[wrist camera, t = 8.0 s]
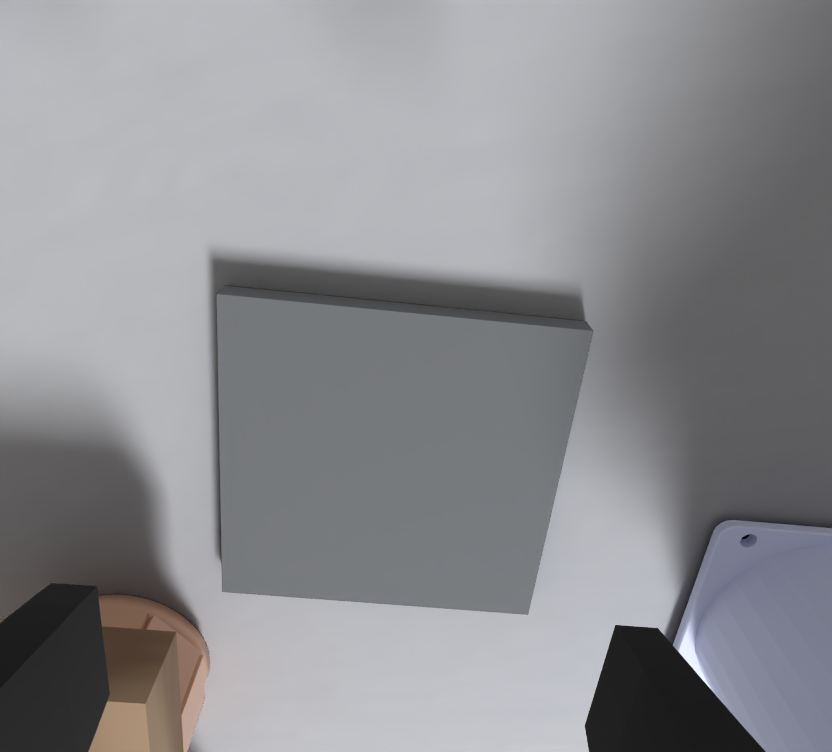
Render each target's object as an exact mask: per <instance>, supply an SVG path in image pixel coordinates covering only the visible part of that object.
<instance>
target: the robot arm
mask: <svg viewBox="0 0 832 752" xmlns="http://www.w3.org/2000/svg"><path fill="white" fill-rule="evenodd" d="M748 534H750V536H749V537H748V538H746V539H742V537H744V536H745V535H748ZM741 539H742V540H741ZM109 695H110V691H109V683H108V674H107V666H106V657H105V649H104V640H103V632H102V624H101V615H100V607H99V598H98V590H97V587H96V586H83V585H69V584H56V583H51V584H50V585H48V586H47V587H46V588H45V589H43V590H42V591H41V592H39V593H38V594H37V595H35V596H34V597H33V598H32V599H30V600H29V601H28V602H26V603H25V604H24V605H22V606H21V607H20V608H19V609H17V610H16V611H15V612H14V613H12V614H11V615H10V616H8V617H7V618H6V619H5V620H3V621H2V622H1V623H0V752H88V751H89V749H90V746H91V744H92V741H93V739H94V736H95V733H96V731H97V728H98V725H99V722H100V720H101V717H102V714H103V712H104V709H105V706H106V703H107V701H108V698H109ZM585 729H586V735H587V741H588V747H589V752H832V528H823V527H811V526H799V525H787V524H775V523H763V522H751V521H739V520H727V521H724V522H722V523H720V524H719V525H718V526H716V528H715V530H714V531H713V534H712V537H711V539H710V542H709V545H708V548H707V551H706V553H705V556H704V559H703V562H702V565H701V567H700V570H699V573H698V576H697V579H696V581H695V584H694V587H693V590H692V593H691V595H690V598H689V601H688V604H687V607H686V609H685V612H684V615H683V618H682V621H681V623H680V626H679V629H678V632H677V635H676V637H675V640H674V643H673V645H672V644H671V643H670V642H669V640H668V639H667V638H666V637H665V636H664V635H663V634H662V633H661V631H660V630H659V629H658V628H647V627H634V626H621V625H615V628H614V632H613V635H612V638H611V642H610V645H609V648H608V651H607V655H606V658H605V661H604V665H603V668H602V671H601V674H600V678H599V681H598V684H597V688H596V691H595V694H594V698H593V701H592V704H591V707H590V711H589V714H588V717H587V721H586V724H585Z"/></svg>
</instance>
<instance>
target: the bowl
mask: <svg viewBox="0 0 832 752" xmlns="http://www.w3.org/2000/svg"><path fill="white" fill-rule="evenodd" d="M98 598H99V607H100V615H101V624H102V626H103V627H118V628H132V629H146V630H161V631H175V632H176V633H177V650H178V666H179V683H180V700H181V716H182V733H183V750H184V752H188V749H189V746H190V743H191V740H192V737H193V734H194V731H195V728H196V725H197V722H198V719H199V716H200V713H201V710H202V707H203V704H204V701H205V682H206V679H207V676H208V673H209V669H210V657H209V652H208V648H207V645H206V643H205V641H204V639H203V637H202V636H201V634H200V633H199V631H198V630H197V629H196V628H195V627H194V626H193V625H192V624H191V623H190V622H189V621H188V620H187V619H186V618H185V617H183V616H182V615H180V614H179V613H178V612H176V611H174V610H173V609H171V608H169V607H167V606H165V605H163V604H160V603H158V602H156V601H152V600H149V599H146V598H142V597H137V596H131V595H115V594H113V595H102V596H98Z"/></svg>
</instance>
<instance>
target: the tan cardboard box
mask: <svg viewBox="0 0 832 752" xmlns="http://www.w3.org/2000/svg"><path fill="white" fill-rule="evenodd" d="M2 621H3V619H0V623H1V622H2ZM102 632H103V640H104V649H105V657H106V666H107V674H108V683H109V691H110V695H109V698H108V701H107V703H106V706H105V709H104V712H103V714H102V717H101V720H100V722H99V725H98V728H97V731H96V733H95V736H94V739H93V741H92V744H91V746H90V749H89V751H88V752H184V750H183V733H182V716H181V700H180V683H179V666H178V650H177V633H176V632H175V631H161V630H146V629H132V628H118V627H103V626H102Z"/></svg>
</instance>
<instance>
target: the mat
mask: <svg viewBox="0 0 832 752" xmlns="http://www.w3.org/2000/svg"><path fill="white" fill-rule="evenodd" d="M592 334H593V330H592V329H591V327H590V326H589V325H588V323H587V322H586V321H580V320H570V319H559V318H549V317H539V316H529V315H519V314H509V313H499V312H488V311H478V310H468V309H458V308H448V307H438V306H428V305H418V304H407V303H397V302H387V301H377V300H367V299H357V298H347V297H337V296H326V295H316V294H306V293H296V292H286V291H276V290H266V289H256V288H245V287H235V286H225V285H224V287H223V288H222V289H221V290H220V291H219V292H218V293H217V345H218V398H219V450H220V503H221V555H222V592H231V593H245V594H258V595H271V596H285V597H298V598H311V599H325V600H338V601H352V602H365V603H378V604H392V605H405V606H419V607H432V608H445V609H459V610H472V611H486V612H499V613H512V614H526V615H528V612H529V608H530V604H531V599H532V595H533V591H534V586H535V582H536V578H537V573H538V569H539V565H540V560H541V556H542V552H543V547H544V543H545V538H546V534H547V530H548V525H549V521H550V517H551V512H552V508H553V504H554V499H555V495H556V491H557V486H558V482H559V478H560V473H561V469H562V465H563V460H564V456H565V451H566V447H567V443H568V438H569V434H570V430H571V425H572V421H573V417H574V412H575V408H576V404H577V399H578V395H579V391H580V386H581V382H582V378H583V373H584V369H585V364H586V360H587V356H588V351H589V347H590V343H591V338H592Z"/></svg>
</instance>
